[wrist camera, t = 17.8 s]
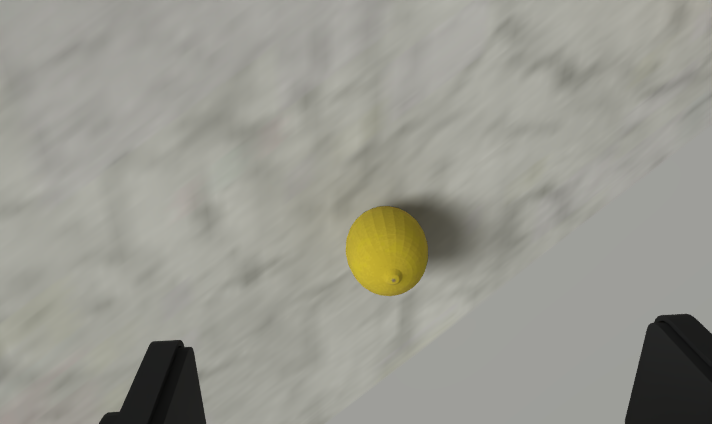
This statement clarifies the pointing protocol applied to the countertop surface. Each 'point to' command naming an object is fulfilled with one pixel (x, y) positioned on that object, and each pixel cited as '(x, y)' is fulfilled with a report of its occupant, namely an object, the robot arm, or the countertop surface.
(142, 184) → the countertop surface
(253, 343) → the countertop surface
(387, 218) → the lemon
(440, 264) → the countertop surface
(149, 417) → the robot arm
